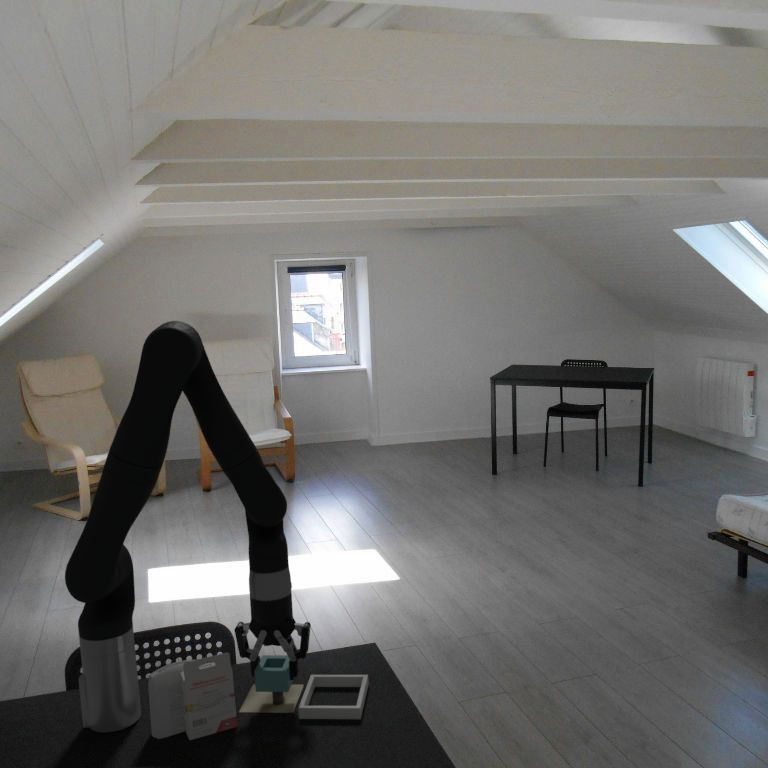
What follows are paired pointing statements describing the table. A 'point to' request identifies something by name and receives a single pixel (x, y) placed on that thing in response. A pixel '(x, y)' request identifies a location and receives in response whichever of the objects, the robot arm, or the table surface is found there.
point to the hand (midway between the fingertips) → (275, 677)
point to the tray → (333, 711)
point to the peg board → (271, 701)
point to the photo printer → (166, 700)
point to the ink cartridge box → (208, 696)
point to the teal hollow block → (273, 674)
